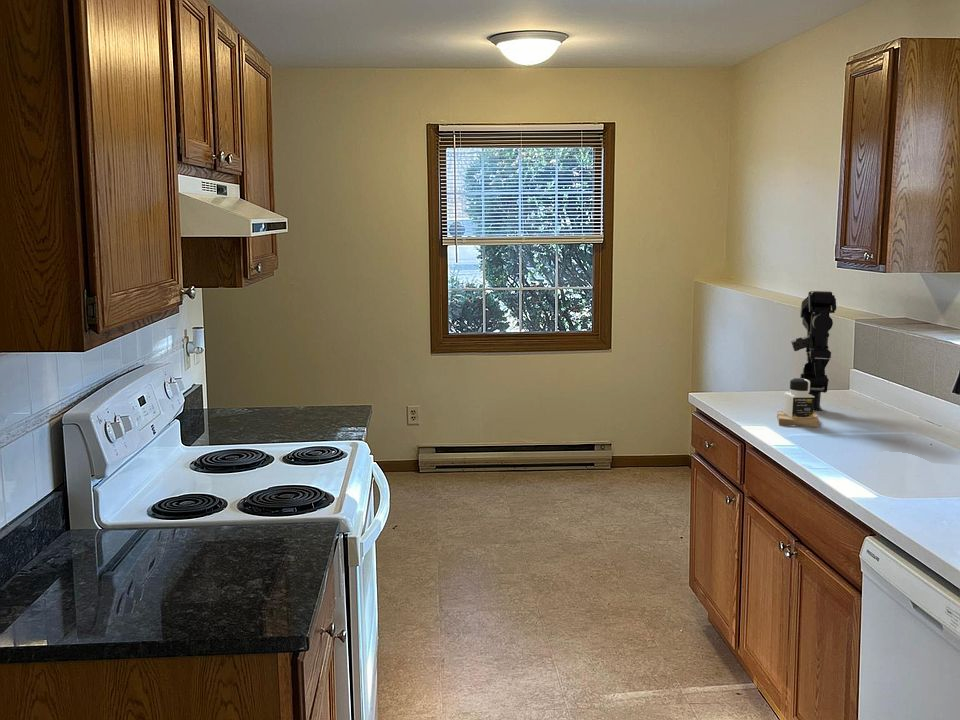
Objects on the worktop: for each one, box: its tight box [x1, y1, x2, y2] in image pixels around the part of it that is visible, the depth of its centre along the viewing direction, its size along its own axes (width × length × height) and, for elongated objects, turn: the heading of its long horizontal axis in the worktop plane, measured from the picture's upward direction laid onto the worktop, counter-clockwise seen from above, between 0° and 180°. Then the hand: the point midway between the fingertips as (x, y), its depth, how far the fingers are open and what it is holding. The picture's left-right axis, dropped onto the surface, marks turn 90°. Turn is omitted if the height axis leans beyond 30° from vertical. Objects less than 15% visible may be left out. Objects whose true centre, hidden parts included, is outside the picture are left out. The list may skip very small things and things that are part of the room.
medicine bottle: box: [782, 377, 815, 418], centre depth 305 cm, size 7×7×12 cm
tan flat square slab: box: [776, 410, 820, 428], centre depth 306 cm, size 12×12×2 cm
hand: (816, 376), depth 314 cm, fingers open, 9 cm apart
